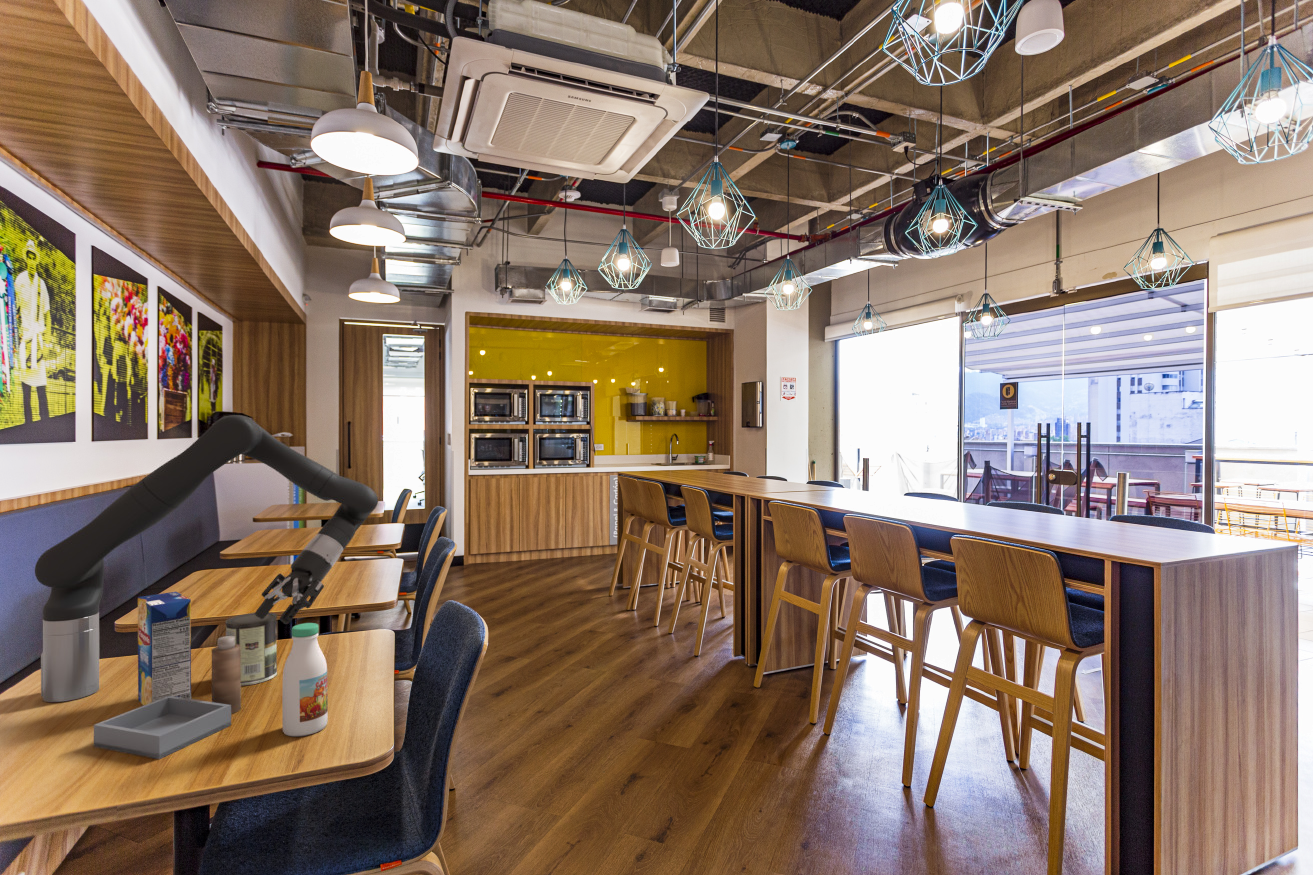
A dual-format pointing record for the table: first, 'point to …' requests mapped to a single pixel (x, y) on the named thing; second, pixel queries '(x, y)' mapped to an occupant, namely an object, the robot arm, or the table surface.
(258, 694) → the table surface
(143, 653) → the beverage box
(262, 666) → the coffee can
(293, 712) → the milk bottle
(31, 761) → the table surface
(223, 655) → the brown bottle
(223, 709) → the grey bin
